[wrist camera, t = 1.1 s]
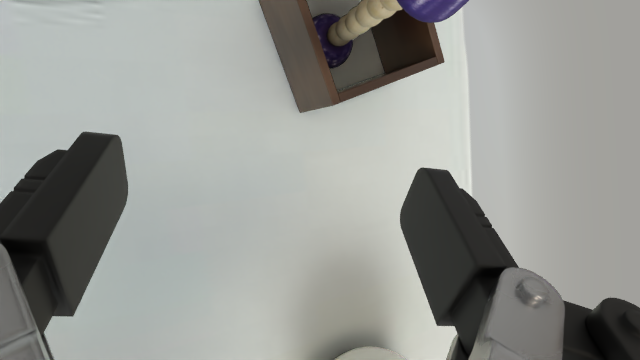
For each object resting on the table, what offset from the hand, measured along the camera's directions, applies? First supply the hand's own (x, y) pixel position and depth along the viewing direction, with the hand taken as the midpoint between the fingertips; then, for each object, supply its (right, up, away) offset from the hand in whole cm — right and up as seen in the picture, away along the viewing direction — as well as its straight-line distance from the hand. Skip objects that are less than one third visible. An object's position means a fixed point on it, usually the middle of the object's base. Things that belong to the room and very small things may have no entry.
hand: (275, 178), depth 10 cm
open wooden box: (+2, +11, +20) cm, 23 cm away
